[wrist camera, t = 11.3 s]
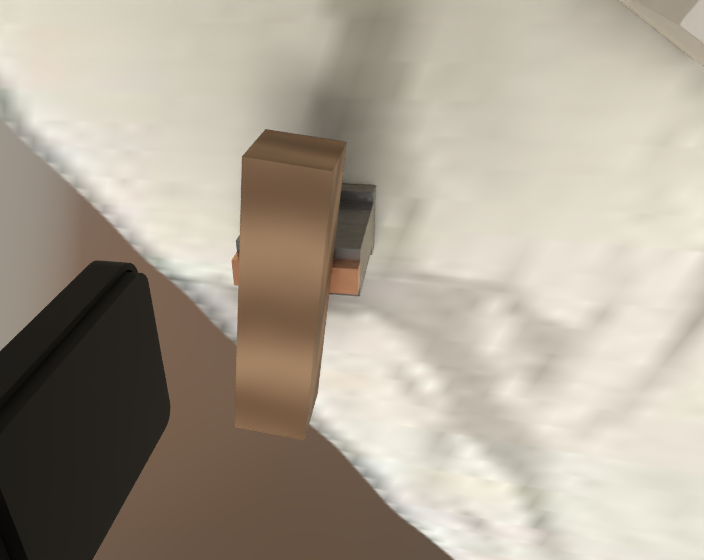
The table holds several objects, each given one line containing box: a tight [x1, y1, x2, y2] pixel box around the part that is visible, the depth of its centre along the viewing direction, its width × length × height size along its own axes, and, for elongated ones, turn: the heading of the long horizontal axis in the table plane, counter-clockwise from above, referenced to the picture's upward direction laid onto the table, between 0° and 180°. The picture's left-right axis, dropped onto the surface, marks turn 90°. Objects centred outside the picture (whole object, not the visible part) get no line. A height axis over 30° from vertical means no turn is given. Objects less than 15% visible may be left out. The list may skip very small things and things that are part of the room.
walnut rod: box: [235, 129, 346, 440], centre depth 33 cm, size 16×4×4 cm, turn 173°
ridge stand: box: [232, 184, 376, 296], centre depth 39 cm, size 4×7×9 cm, turn 90°
